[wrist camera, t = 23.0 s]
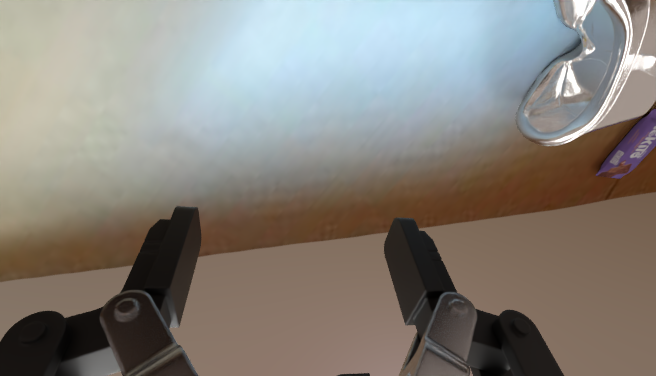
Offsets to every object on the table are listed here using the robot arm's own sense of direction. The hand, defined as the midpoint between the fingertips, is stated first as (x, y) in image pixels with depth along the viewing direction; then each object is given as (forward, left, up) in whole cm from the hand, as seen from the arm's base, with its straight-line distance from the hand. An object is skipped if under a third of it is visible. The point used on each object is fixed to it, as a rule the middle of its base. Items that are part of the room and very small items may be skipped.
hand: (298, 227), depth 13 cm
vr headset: (+19, +25, -28) cm, 42 cm away
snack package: (+42, +31, -28) cm, 60 cm away
